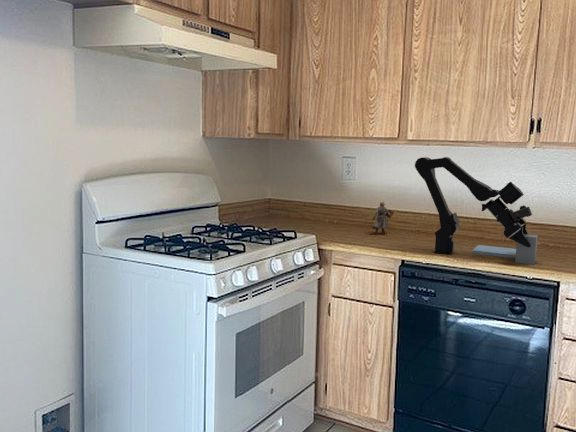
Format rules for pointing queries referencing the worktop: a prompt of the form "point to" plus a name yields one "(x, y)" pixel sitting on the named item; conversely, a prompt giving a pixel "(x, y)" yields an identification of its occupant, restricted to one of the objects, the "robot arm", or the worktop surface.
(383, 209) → the figurine
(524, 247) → the tall gray block
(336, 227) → the worktop surface
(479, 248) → the board
